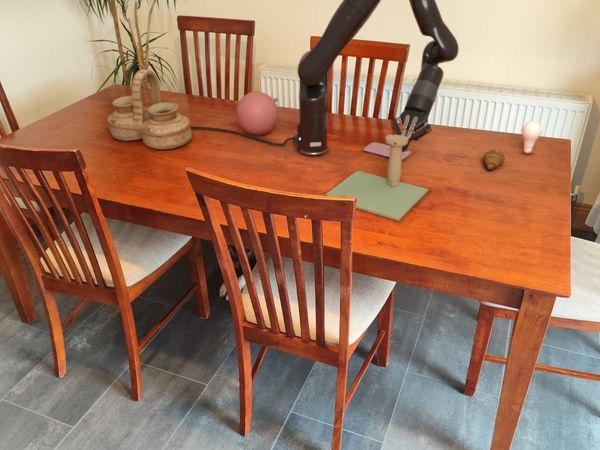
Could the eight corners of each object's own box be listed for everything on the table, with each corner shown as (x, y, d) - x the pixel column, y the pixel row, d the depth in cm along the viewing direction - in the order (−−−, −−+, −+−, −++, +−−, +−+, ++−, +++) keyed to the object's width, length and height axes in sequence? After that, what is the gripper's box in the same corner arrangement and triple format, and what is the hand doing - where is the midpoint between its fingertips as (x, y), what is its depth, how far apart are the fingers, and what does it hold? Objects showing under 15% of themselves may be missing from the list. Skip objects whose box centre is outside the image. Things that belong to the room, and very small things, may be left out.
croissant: (500, 173, 171) (503, 159, 169) (478, 170, 174) (480, 155, 171) (506, 157, 182) (509, 143, 179) (485, 153, 184) (488, 140, 181)
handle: (384, 179, 167) (388, 133, 160) (405, 183, 165) (410, 136, 158) (380, 186, 164) (383, 139, 156) (402, 190, 162) (406, 142, 154)
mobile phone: (373, 140, 193) (412, 150, 185) (373, 143, 193) (412, 153, 185) (362, 148, 187) (401, 158, 180) (362, 150, 188) (401, 161, 180)
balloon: (295, 127, 208) (294, 87, 200) (260, 144, 194) (257, 102, 186) (264, 119, 216) (262, 80, 208) (229, 135, 203) (225, 94, 195)
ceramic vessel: (98, 138, 202) (83, 71, 189) (134, 122, 216) (122, 58, 203) (169, 156, 187) (158, 84, 174) (203, 137, 201) (195, 69, 188)
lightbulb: (536, 150, 186) (543, 119, 180) (536, 157, 181) (544, 126, 175) (517, 148, 187) (523, 117, 182) (517, 155, 182) (523, 124, 177)
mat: (323, 198, 160) (323, 195, 160) (357, 172, 174) (357, 170, 174) (398, 221, 148) (398, 218, 148) (428, 191, 162) (428, 189, 162)
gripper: (398, 89, 164) (377, 140, 162) (440, 96, 158) (419, 150, 156) (404, 101, 171) (384, 151, 169) (445, 108, 164) (424, 160, 162)
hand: (401, 150), depth 162 cm, fingers closed
